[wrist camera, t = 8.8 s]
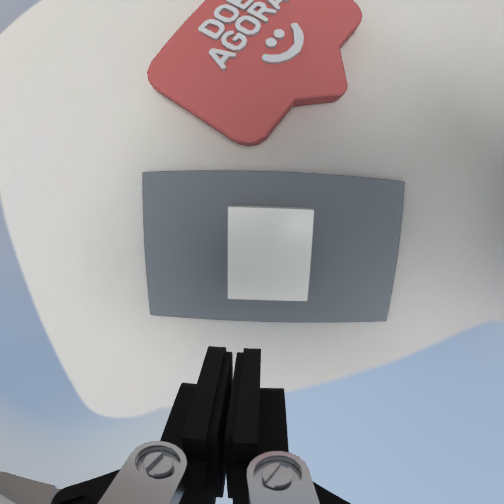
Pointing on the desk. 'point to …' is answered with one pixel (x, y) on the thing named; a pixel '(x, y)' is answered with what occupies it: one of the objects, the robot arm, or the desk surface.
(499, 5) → the desk surface
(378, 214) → the tile mat
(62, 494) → the robot arm
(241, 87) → the plaque
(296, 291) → the tile
